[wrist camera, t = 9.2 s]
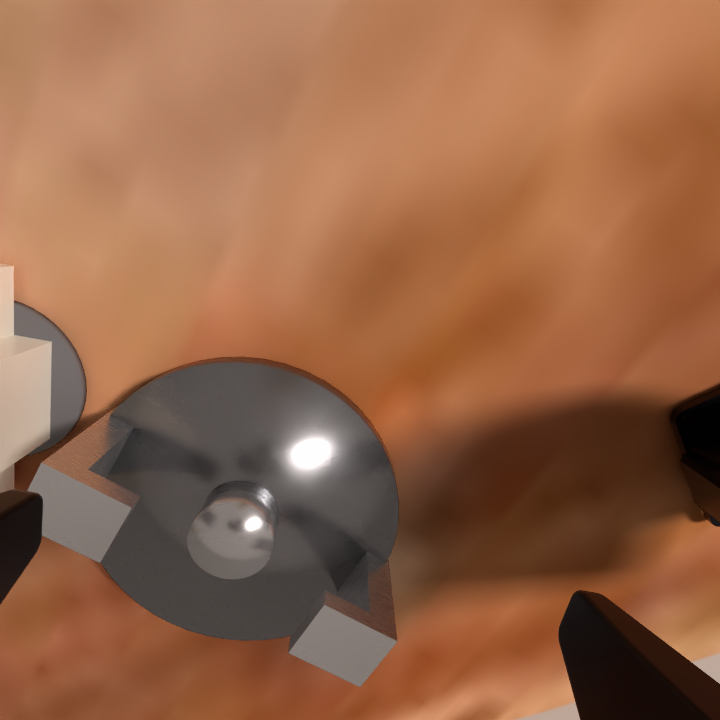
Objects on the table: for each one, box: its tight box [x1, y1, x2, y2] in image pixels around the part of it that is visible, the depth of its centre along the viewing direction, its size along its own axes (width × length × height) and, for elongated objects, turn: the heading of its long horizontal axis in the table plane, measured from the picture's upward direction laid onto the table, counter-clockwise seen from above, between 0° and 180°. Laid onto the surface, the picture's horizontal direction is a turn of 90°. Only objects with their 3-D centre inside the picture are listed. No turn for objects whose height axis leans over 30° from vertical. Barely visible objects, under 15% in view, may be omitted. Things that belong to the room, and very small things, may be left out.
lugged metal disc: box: [27, 357, 398, 687], centre depth 19 cm, size 14×14×5 cm
